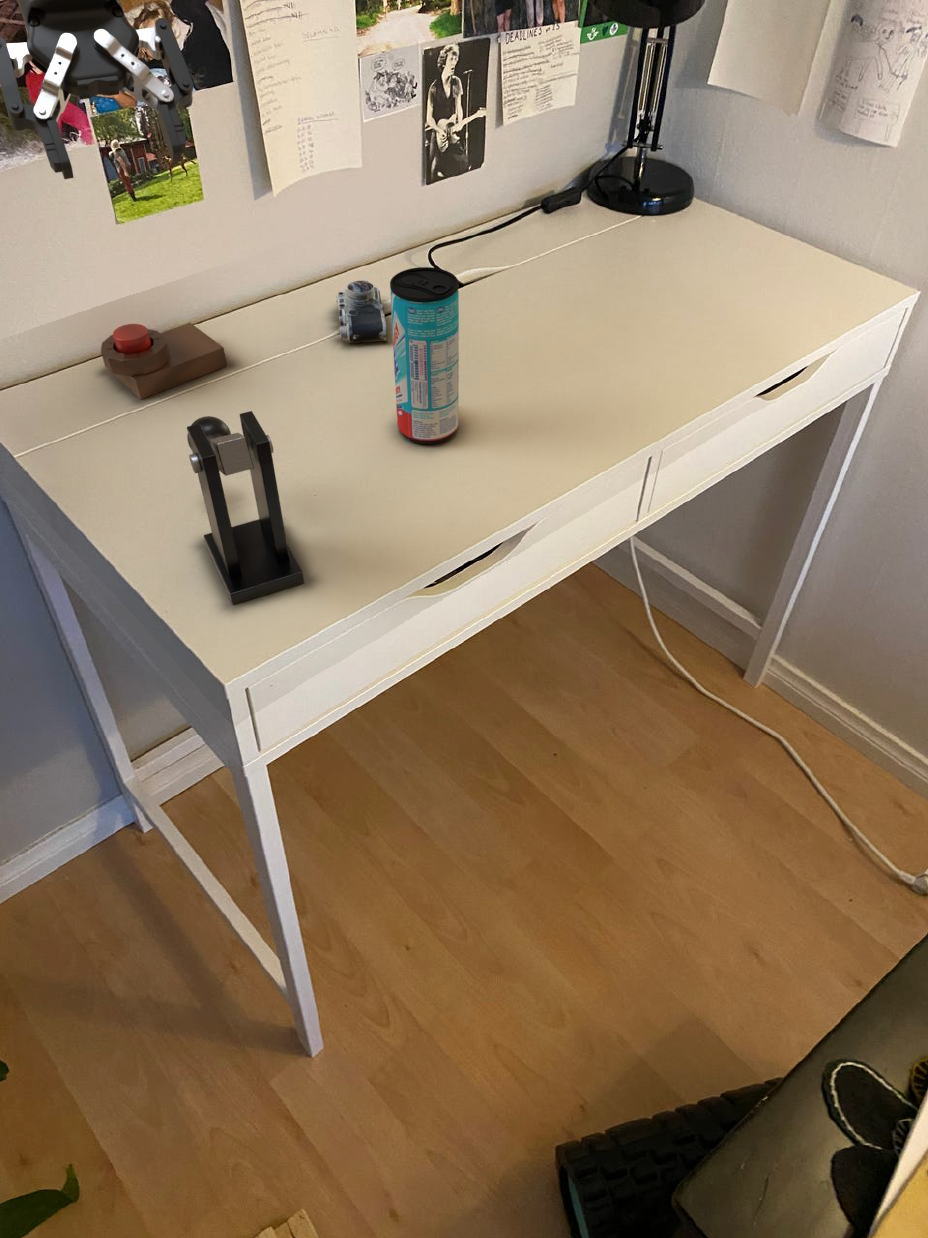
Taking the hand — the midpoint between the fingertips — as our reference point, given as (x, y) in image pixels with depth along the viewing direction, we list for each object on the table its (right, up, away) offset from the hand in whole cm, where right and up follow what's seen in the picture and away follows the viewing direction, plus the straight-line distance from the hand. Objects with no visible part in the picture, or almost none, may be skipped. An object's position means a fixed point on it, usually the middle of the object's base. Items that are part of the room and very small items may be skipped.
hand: (124, 165), depth 75 cm
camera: (+16, -3, +32) cm, 36 cm away
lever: (+8, -24, +1) cm, 25 cm away
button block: (-4, -10, +25) cm, 27 cm away
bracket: (+10, -31, +3) cm, 33 cm away
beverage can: (+23, -18, +17) cm, 34 cm away
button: (-6, -8, +21) cm, 23 cm away
